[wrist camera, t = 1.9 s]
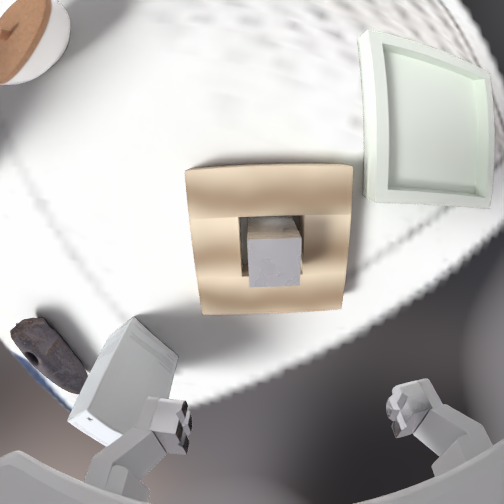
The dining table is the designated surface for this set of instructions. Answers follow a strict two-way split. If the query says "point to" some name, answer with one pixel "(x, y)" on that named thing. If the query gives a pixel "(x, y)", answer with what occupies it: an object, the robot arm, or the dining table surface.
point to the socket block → (270, 204)
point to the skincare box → (123, 382)
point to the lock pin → (273, 252)
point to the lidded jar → (31, 39)
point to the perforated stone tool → (49, 354)
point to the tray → (425, 125)
